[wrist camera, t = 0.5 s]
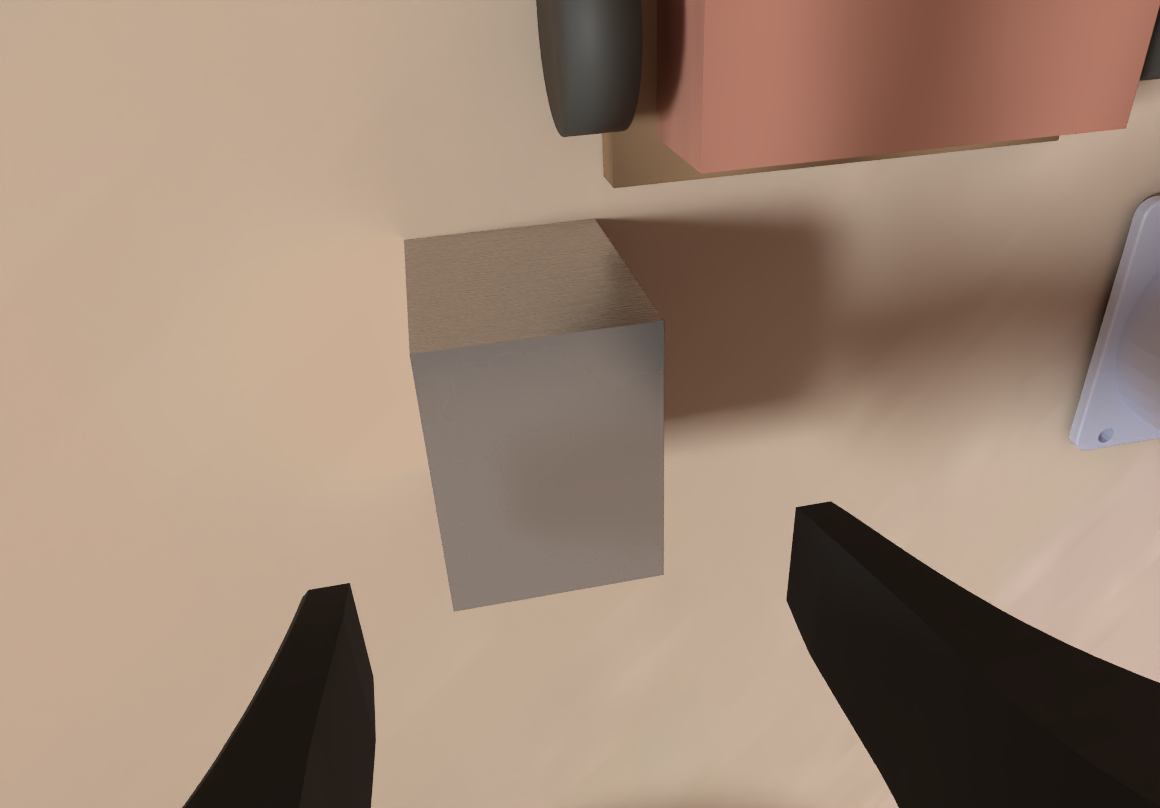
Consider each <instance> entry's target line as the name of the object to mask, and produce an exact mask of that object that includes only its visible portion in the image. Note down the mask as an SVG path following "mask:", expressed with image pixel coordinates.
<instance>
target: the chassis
mask: <svg viewBox="0 0 1160 808" xmlns="http://www.w3.org/2000/svg"><path fill="white" fill-rule="evenodd" d="M536 2H537V18H538V31H539V41H540V50H541V59H542V66H543V73H544V80H545V86H546V91H547V96H548V101H549V105H550V110H551V113H552V117H553V120H554V123H555V126H556V128H557V130H558V132H559V134H560V135H561V136H562V137H568V136H578V135H589V134H599V133H602V137H603V166H604V177H605V178H606V179H607V181H608V182H609V183H610V184H611V185H612V187H613V188H619V187H629V186H638V185H647V184H657V183H666V182H675V181H685V180H694V179H703V178H713V177H722V176H731V175H740V174H750V173H759V172H768V171H778V170H787V169H796V168H806V167H815V166H824V165H834V164H843V163H852V162H861V161H871V160H880V159H889V158H899V157H908V156H917V155H927V154H936V153H945V152H954V151H964V150H973V149H982V148H992V147H1001V146H1010V145H1020V144H1029V143H1038V142H1048V141H1057V140H1058V139H1059V135H1068V134H1077V133H1087V132H1096V131H1106V130H1115V129H1124V128H1126V127H1127V123H1128V119H1129V116H1130V112H1131V109H1132V105H1133V101H1134V98H1135V94H1136V90H1137V87H1138V83H1139V81H1142V80H1152V79H1160V0H536Z"/></svg>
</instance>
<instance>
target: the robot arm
mask: <svg viewBox="0 0 1160 808" xmlns="http://www.w3.org/2000/svg"><path fill="white" fill-rule="evenodd" d="M1157 438H1160V195H1158V196H1153V197H1150V198H1148V199H1147V200H1145V201H1144V202H1142V203H1141V204H1140V206H1139V207H1138V208H1137V210H1136V212H1135V214H1134V216H1133V220H1132V223H1131V227H1130V230H1129V233H1128V237H1127V240H1126V244H1125V247H1124V250H1123V254H1122V257H1121V261H1120V264H1119V267H1118V271H1117V274H1116V278H1115V281H1114V284H1113V288H1112V291H1111V295H1110V298H1109V302H1108V305H1107V308H1106V312H1105V315H1104V319H1103V322H1102V325H1101V329H1100V332H1099V336H1098V339H1097V342H1096V346H1095V349H1094V353H1093V356H1092V359H1091V363H1090V366H1089V370H1088V373H1087V376H1086V380H1085V383H1084V387H1083V390H1082V393H1081V397H1080V400H1079V404H1078V407H1077V410H1076V414H1075V417H1074V421H1073V424H1072V427H1071V431H1070V434H1069V440H1070V442H1071V443H1072V444H1073V445H1074V446H1075V447H1077V448H1078V449H1080V450H1091V449H1097V448H1103V447H1109V446H1115V445H1121V444H1127V443H1133V442H1139V441H1145V440H1151V439H1157ZM787 602H788V605H789V607H790V610H791V612H792V614H793V617H794V619H795V622H796V624H797V626H798V629H799V631H800V633H801V636H802V638H803V640H804V642H805V644H806V647H807V649H808V651H809V653H810V655H811V657H812V659H813V661H814V662H815V664H816V666H817V667H818V669H819V671H820V673H821V674H822V676H823V678H824V679H825V681H826V683H827V684H828V686H829V688H830V690H831V691H832V693H833V695H834V696H835V698H836V700H837V701H838V703H839V705H840V706H841V708H842V710H843V711H844V713H845V715H846V716H847V718H848V720H849V721H850V723H851V725H852V726H853V728H854V730H855V731H856V733H857V735H858V736H859V738H860V739H861V741H862V743H863V744H864V746H865V748H866V749H867V751H868V753H869V754H870V756H871V758H872V759H873V761H874V763H875V764H876V766H877V768H878V769H879V771H880V773H881V775H882V777H883V778H884V780H885V782H886V784H887V786H888V787H889V789H890V791H891V793H892V795H893V797H894V799H895V801H896V803H897V805H898V807H899V808H1160V683H1159V682H1156V681H1153V680H1151V679H1148V678H1145V677H1143V676H1140V675H1138V674H1136V673H1133V672H1131V671H1128V670H1126V669H1124V668H1121V667H1119V666H1116V665H1114V664H1112V663H1109V662H1107V661H1104V660H1102V659H1100V658H1097V657H1095V656H1093V655H1090V654H1088V653H1086V652H1084V651H1082V650H1079V649H1077V648H1075V647H1073V646H1071V645H1068V644H1066V643H1064V642H1062V641H1060V640H1058V639H1056V638H1054V637H1052V636H1050V635H1048V634H1046V633H1044V632H1042V631H1040V630H1038V629H1036V628H1034V627H1032V626H1030V625H1028V624H1026V623H1024V622H1022V621H1020V620H1018V619H1017V618H1015V617H1013V616H1011V615H1009V614H1007V613H1005V612H1004V611H1002V610H1000V609H998V608H997V607H995V606H993V605H991V604H990V603H988V602H986V601H984V600H983V599H981V598H979V597H978V596H976V595H974V594H972V593H971V592H969V591H967V590H965V589H964V588H962V587H961V586H959V585H957V584H956V583H954V582H952V581H951V580H949V579H948V578H946V577H944V576H943V575H941V574H940V573H938V572H936V571H935V570H933V569H932V568H930V567H929V566H927V565H926V564H924V563H922V562H921V561H919V560H918V559H916V558H915V557H913V556H912V555H910V554H909V553H907V552H906V551H904V550H903V549H901V548H900V547H898V546H897V545H895V544H894V543H892V542H891V541H889V540H888V539H886V538H885V537H883V536H882V535H880V534H879V533H878V532H876V531H875V530H873V529H872V528H870V527H869V526H867V525H866V524H864V523H863V522H861V521H860V520H858V519H857V518H855V517H854V516H853V515H851V514H850V513H848V512H847V511H845V510H843V509H842V508H840V507H839V506H837V505H836V504H834V503H833V502H831V501H830V502H825V503H819V504H813V505H807V506H801V507H796V512H795V522H794V532H793V541H792V551H791V561H790V571H789V581H788V590H787ZM375 743H376V734H375V705H374V681H373V674H372V670H371V666H370V662H369V658H368V654H367V650H366V646H365V642H364V638H363V634H362V630H361V626H360V622H359V618H358V614H357V610H356V606H355V602H354V598H353V594H352V590H351V586H350V583H347V584H341V585H336V586H330V587H324V588H318V589H312V590H308V592H307V593H306V594H305V595H304V596H303V598H302V600H301V602H300V605H299V607H298V609H297V612H296V614H295V616H294V618H293V621H292V623H291V625H290V627H289V629H288V631H287V634H286V636H285V638H284V640H283V642H282V644H281V646H280V648H279V650H278V652H277V654H276V656H275V658H274V660H273V662H272V664H271V666H270V667H269V669H268V671H267V673H266V675H265V677H264V678H263V680H262V682H261V684H260V686H259V688H258V690H257V691H256V693H255V695H254V697H253V699H252V701H251V702H250V704H249V706H248V708H247V709H246V711H245V713H244V714H243V716H242V718H241V719H240V721H239V723H238V724H237V726H236V727H235V729H234V731H233V732H232V734H231V736H230V737H229V739H228V740H227V742H226V744H225V745H224V747H223V749H222V750H221V752H220V753H219V755H218V757H217V758H216V760H215V761H214V763H213V764H212V766H211V767H210V769H209V770H208V772H207V773H206V775H205V776H204V778H203V779H202V781H201V782H200V784H199V785H198V786H197V788H196V789H195V791H194V792H193V794H192V795H191V796H190V798H189V799H188V801H187V802H186V803H185V805H184V806H183V807H182V808H371V797H372V784H373V771H374V757H375Z"/></svg>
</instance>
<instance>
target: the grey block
mask: <svg viewBox="0 0 1160 808" xmlns="http://www.w3.org/2000/svg"><path fill="white" fill-rule="evenodd" d="M404 249H405V269H406V289H407V309H408V329H409V349H410V359H411V364H412V370H413V376H414V382H415V388H416V394H417V399H418V405H419V411H420V417H421V423H422V429H423V434H424V440H425V446H426V452H427V458H428V464H429V469H430V475H431V481H432V487H433V493H434V499H435V504H436V510H437V516H438V522H439V528H440V533H441V539H442V545H443V551H444V557H445V563H446V568H447V574H448V580H449V586H450V592H451V598H452V603H453V609H454V611H460V610H465V609H471V608H477V607H482V606H488V605H494V604H499V603H505V602H511V601H517V600H522V599H528V598H534V597H539V596H545V595H551V594H557V593H562V592H568V591H574V590H579V589H585V588H591V587H596V586H602V585H608V584H614V583H619V582H625V581H631V580H636V579H642V578H648V577H653V576H659V575H664V320H663V318H662V317H661V315H660V314H659V312H658V311H657V309H656V308H655V307H654V305H653V304H652V302H651V301H650V299H649V298H648V296H647V295H646V293H645V292H644V290H643V289H642V287H641V286H640V285H639V283H638V282H637V280H636V279H635V277H634V276H633V274H632V273H631V271H630V270H629V268H628V267H627V265H626V264H625V262H624V261H623V260H622V258H621V257H620V255H619V254H618V252H617V251H616V249H615V248H614V246H613V245H612V243H611V242H610V240H609V239H608V238H607V236H606V235H605V233H604V232H603V230H602V229H601V227H600V226H599V224H598V223H597V221H596V220H595V219H587V220H578V221H569V222H560V223H552V224H543V225H534V226H525V227H516V228H507V229H498V230H489V231H480V232H471V233H463V234H454V235H445V236H436V237H427V238H418V239H409V240H404Z"/></svg>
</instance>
